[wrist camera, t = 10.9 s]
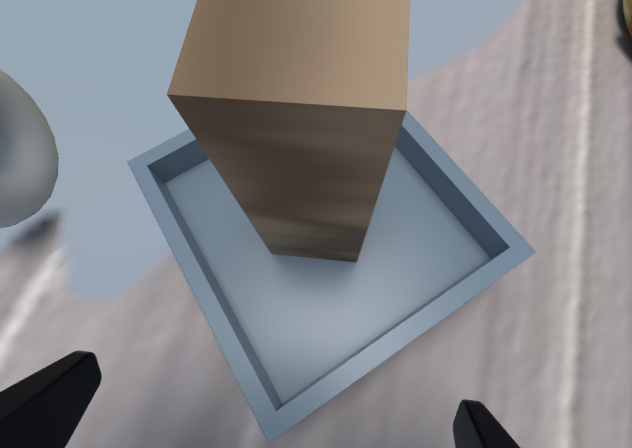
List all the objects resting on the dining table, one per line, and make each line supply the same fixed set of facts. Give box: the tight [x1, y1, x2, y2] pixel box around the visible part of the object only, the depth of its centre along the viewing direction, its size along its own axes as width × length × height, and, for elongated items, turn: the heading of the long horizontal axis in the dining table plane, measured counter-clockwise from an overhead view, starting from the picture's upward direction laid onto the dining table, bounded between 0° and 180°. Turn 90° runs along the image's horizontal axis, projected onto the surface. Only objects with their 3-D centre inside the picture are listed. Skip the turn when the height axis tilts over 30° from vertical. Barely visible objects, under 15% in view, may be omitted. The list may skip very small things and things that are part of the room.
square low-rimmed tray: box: [127, 110, 536, 443], centre depth 19 cm, size 15×14×5 cm
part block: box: [167, 0, 410, 263], centre depth 13 cm, size 4×4×12 cm
